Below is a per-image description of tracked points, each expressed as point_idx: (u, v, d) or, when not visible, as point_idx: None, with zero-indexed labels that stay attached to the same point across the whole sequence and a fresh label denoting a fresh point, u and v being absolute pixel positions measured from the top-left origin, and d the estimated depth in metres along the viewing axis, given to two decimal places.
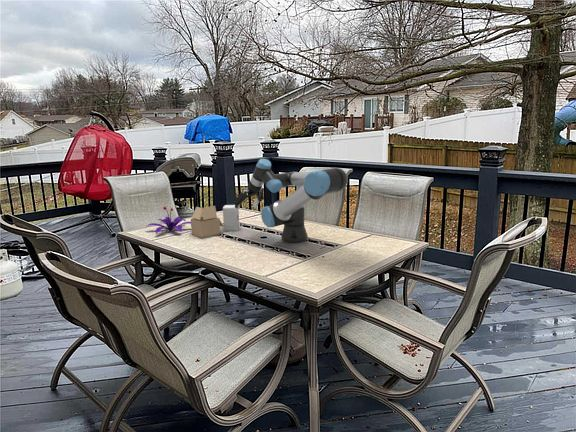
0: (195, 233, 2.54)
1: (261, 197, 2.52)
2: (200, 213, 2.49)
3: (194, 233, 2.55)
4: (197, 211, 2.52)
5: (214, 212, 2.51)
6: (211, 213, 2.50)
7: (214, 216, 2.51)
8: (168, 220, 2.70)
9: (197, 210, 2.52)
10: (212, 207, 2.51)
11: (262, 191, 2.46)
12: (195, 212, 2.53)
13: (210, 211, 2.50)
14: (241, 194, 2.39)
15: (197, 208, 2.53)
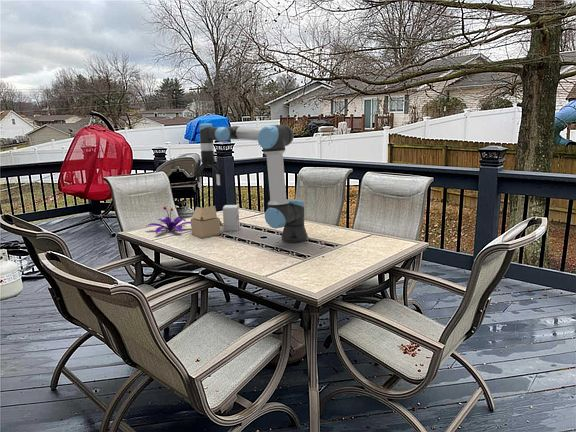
0: (195, 233, 2.54)
1: (220, 171, 2.58)
2: (200, 213, 2.49)
3: (194, 233, 2.55)
4: (197, 211, 2.52)
5: (214, 212, 2.51)
6: (211, 213, 2.50)
7: (214, 216, 2.51)
8: (168, 220, 2.70)
9: (197, 210, 2.52)
10: (212, 207, 2.51)
11: (218, 161, 2.54)
12: (195, 212, 2.53)
13: (210, 211, 2.50)
14: (197, 164, 2.47)
15: (197, 208, 2.53)
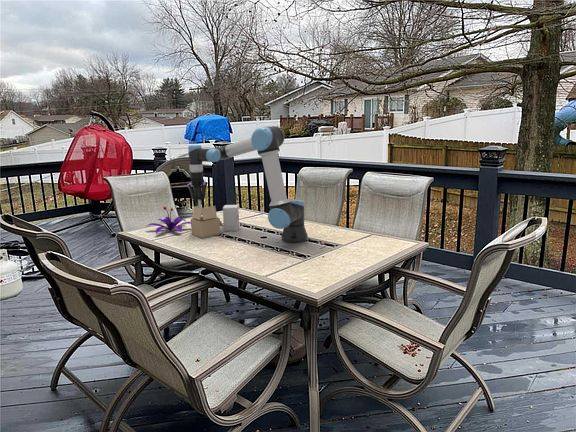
0: (195, 233, 2.54)
1: (202, 196, 2.53)
2: (199, 213, 2.48)
3: (194, 233, 2.55)
4: (196, 211, 2.51)
5: (214, 212, 2.51)
6: (211, 213, 2.50)
7: (214, 216, 2.51)
8: (168, 220, 2.70)
9: (196, 209, 2.52)
10: (212, 207, 2.51)
11: (205, 185, 2.52)
12: (194, 212, 2.52)
13: (210, 211, 2.50)
14: (189, 189, 2.47)
15: (195, 208, 2.52)
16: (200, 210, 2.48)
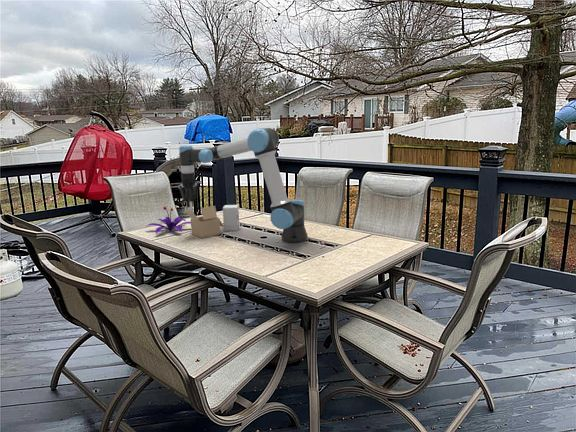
0: (195, 233, 2.54)
1: (194, 197, 2.49)
2: (193, 216, 2.46)
3: (194, 233, 2.55)
4: (189, 214, 2.48)
5: (214, 212, 2.51)
6: (211, 213, 2.50)
7: (214, 216, 2.51)
8: (168, 220, 2.70)
9: (188, 212, 2.49)
10: (212, 207, 2.51)
11: (197, 186, 2.48)
12: (189, 214, 2.50)
13: (210, 211, 2.50)
14: (180, 190, 2.43)
15: (186, 211, 2.48)
16: (191, 213, 2.45)
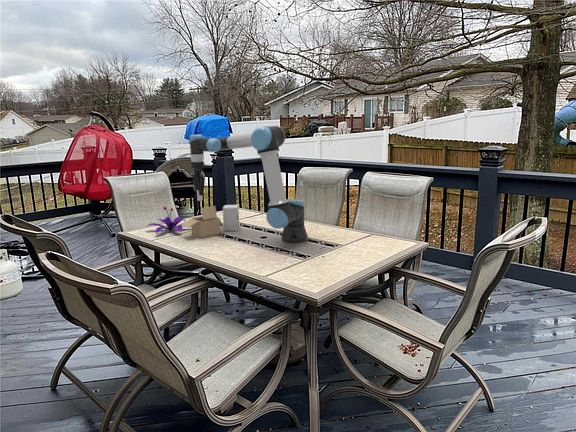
0: (195, 233, 2.54)
1: None
2: None
3: (194, 233, 2.55)
4: None
5: (214, 212, 2.51)
6: (211, 213, 2.50)
7: (214, 216, 2.51)
8: (168, 220, 2.70)
9: None
10: (212, 207, 2.51)
11: (200, 176, 2.47)
12: None
13: (210, 211, 2.50)
14: None
15: None
16: None
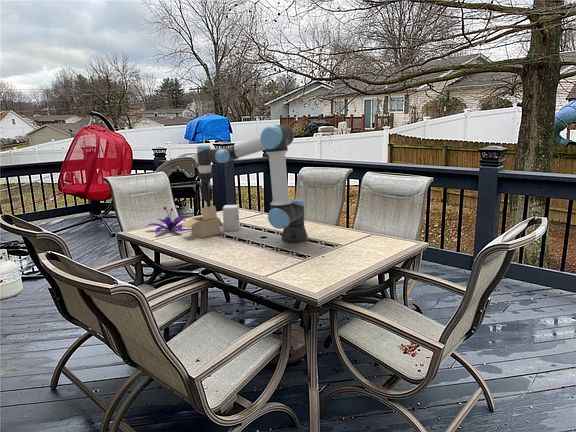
0: (195, 233, 2.54)
1: None
2: None
3: (194, 233, 2.55)
4: None
5: (214, 212, 2.51)
6: (211, 213, 2.50)
7: (214, 216, 2.51)
8: (168, 220, 2.70)
9: None
10: (212, 207, 2.51)
11: (208, 188, 2.43)
12: None
13: (210, 211, 2.50)
14: None
15: None
16: None
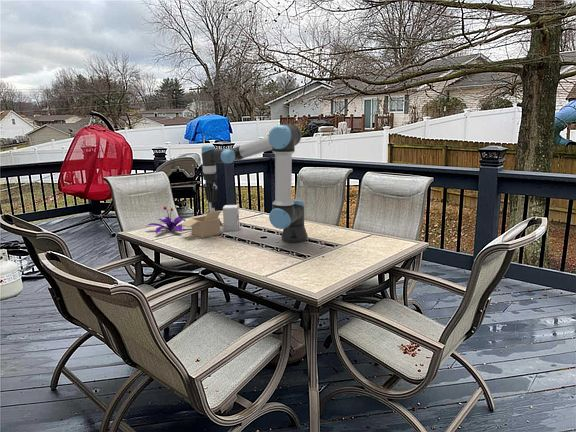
0: (195, 233, 2.54)
1: None
2: None
3: (194, 233, 2.55)
4: None
5: (217, 215, 2.49)
6: (214, 216, 2.48)
7: (215, 217, 2.51)
8: (168, 220, 2.70)
9: None
10: (218, 212, 2.47)
11: (213, 188, 2.39)
12: None
13: (214, 214, 2.47)
14: None
15: None
16: None
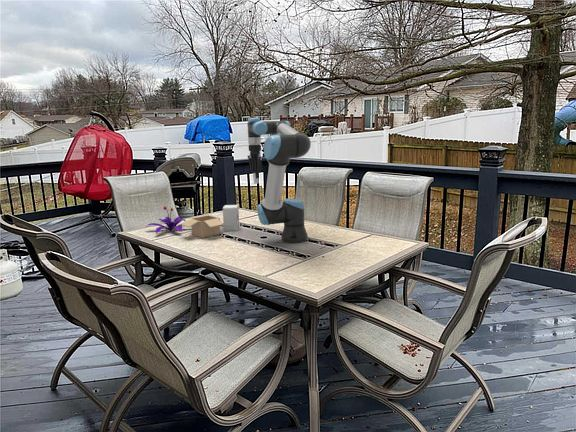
0: (195, 233, 2.54)
1: None
2: None
3: (194, 233, 2.55)
4: None
5: None
6: None
7: None
8: (168, 220, 2.70)
9: None
10: None
11: (258, 159, 2.50)
12: None
13: None
14: None
15: None
16: None
